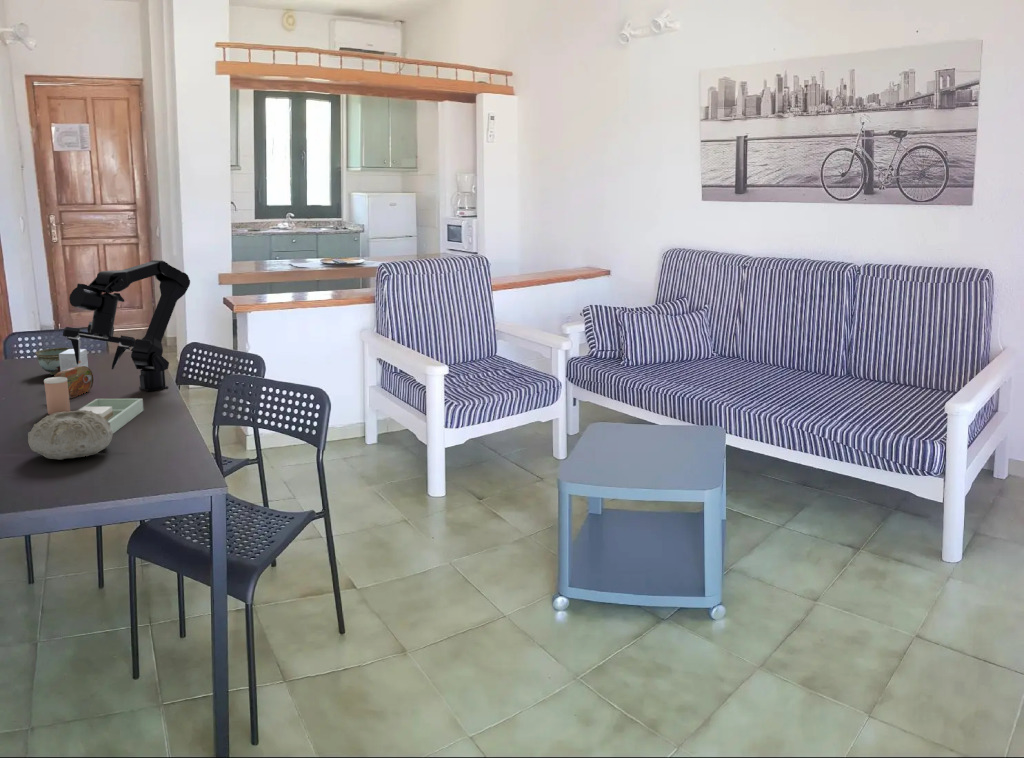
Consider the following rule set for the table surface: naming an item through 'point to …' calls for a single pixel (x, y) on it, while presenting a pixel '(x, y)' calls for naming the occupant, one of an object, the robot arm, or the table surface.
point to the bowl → (50, 359)
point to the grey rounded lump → (70, 435)
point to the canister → (57, 395)
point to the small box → (72, 359)
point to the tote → (119, 410)
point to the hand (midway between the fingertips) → (95, 366)
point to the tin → (77, 380)
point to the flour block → (101, 411)
